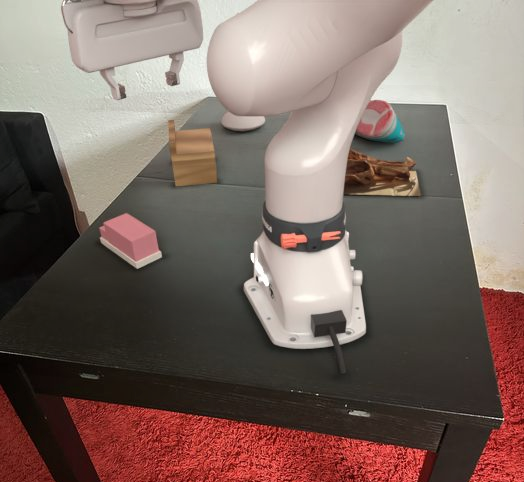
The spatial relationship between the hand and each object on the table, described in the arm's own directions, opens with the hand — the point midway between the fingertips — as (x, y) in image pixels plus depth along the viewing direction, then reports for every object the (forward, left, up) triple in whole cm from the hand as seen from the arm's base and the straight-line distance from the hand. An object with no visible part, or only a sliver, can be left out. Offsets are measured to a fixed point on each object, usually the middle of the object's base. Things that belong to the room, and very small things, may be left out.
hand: (147, 91), depth 81 cm
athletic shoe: (+41, -48, -25) cm, 68 cm away
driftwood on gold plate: (+15, -39, -25) cm, 49 cm away
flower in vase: (+52, -20, -25) cm, 61 cm away
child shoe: (-4, +7, -25) cm, 26 cm away
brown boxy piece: (+27, -6, -25) cm, 37 cm away
